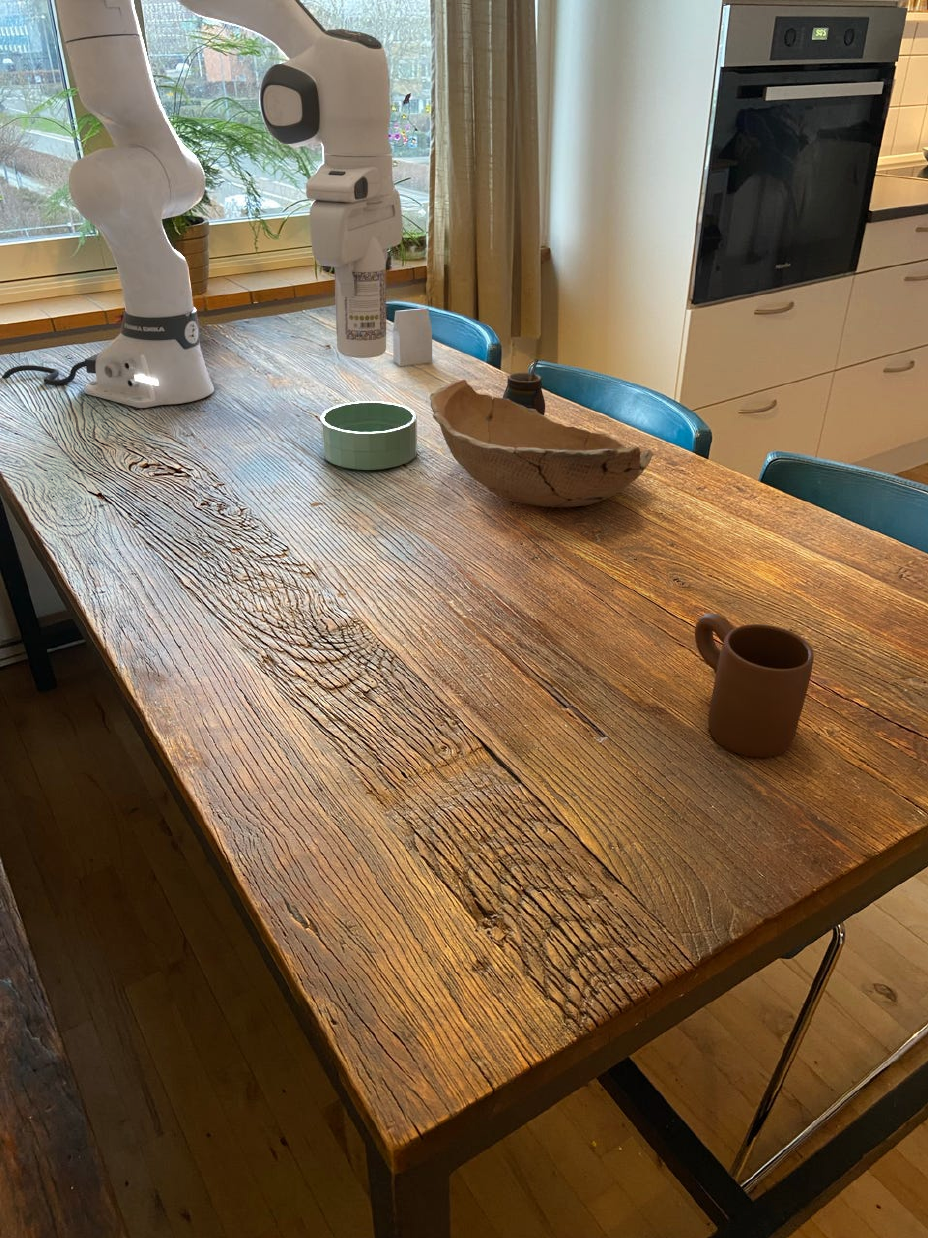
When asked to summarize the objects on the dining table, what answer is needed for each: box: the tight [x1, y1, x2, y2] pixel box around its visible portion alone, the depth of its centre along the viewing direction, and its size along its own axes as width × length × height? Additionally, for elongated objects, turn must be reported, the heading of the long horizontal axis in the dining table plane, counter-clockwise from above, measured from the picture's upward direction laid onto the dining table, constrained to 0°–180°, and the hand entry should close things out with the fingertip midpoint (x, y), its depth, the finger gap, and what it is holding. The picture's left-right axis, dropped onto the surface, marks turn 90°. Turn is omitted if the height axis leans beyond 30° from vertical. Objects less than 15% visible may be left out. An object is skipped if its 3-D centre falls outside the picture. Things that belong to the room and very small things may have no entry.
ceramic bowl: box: [429, 379, 655, 508], centre depth 124 cm, size 30×27×15 cm
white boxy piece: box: [392, 307, 433, 367], centre depth 178 cm, size 4×7×10 cm, turn 115°
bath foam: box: [334, 237, 387, 359], centre depth 125 cm, size 7×7×20 cm
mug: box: [694, 612, 815, 759], centre depth 81 cm, size 12×8×9 cm, turn 30°
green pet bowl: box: [319, 400, 418, 471], centre depth 136 cm, size 14×14×6 cm
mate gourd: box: [502, 358, 546, 416], centre depth 148 cm, size 7×8×10 cm
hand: (362, 289), depth 125 cm, fingers closed on bath foam, 7 cm apart
